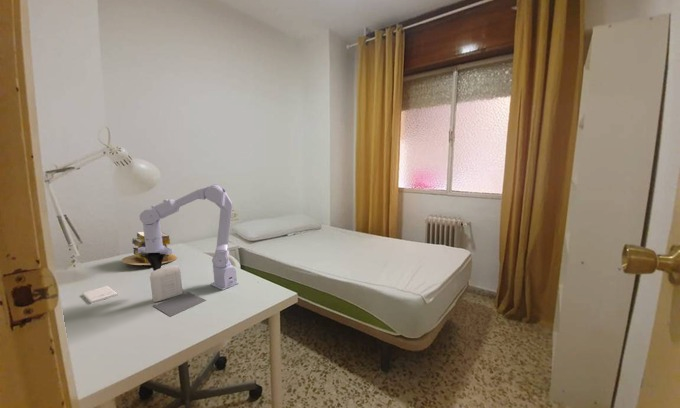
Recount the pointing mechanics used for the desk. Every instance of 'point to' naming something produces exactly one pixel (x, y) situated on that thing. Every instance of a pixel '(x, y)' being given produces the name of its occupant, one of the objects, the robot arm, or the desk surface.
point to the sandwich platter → (140, 257)
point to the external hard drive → (99, 294)
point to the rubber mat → (179, 303)
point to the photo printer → (166, 283)
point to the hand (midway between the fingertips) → (157, 270)
